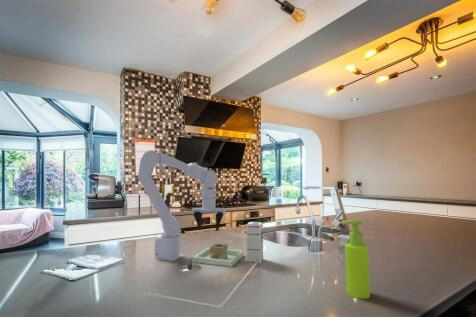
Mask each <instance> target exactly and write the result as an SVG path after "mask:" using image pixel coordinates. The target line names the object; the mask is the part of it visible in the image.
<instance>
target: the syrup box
mask: <svg viewBox="0 0 476 317" xmlns="http://www.w3.org/2000/svg"><path fill="white" fill-rule="evenodd" d="M245 227H246V228H245V229H246V231H245V232H246V261H247V262H252V263H253V262H254V264H262V263H263V261H264V240H263V238H264V236H263V233H264V232H263V222H261V221H250V222H249V221H248V223H246V226H245Z"/></svg>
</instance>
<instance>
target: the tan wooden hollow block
mask: <svg viewBox="0 0 476 317" xmlns="http://www.w3.org/2000/svg"><path fill="white" fill-rule="evenodd" d="M209 248H210V258H212V259H221V260H225V259H226V258H227V257H228V250H229V247H228V244H225V243H214V244H213V245H211V246H209Z"/></svg>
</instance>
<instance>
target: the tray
mask: <svg viewBox="0 0 476 317" xmlns="http://www.w3.org/2000/svg"><path fill="white" fill-rule="evenodd" d="M243 257H244V250H237V249H236V250H235V249H228V257H227V258H226V259H225V260H221V259H212V258H210V247H208V248H205V249H204V250H203V251H201V252H199V253H197V254H196V255H194V256H192V263H198V264H206V265H214V266H222V267H231V268H232V267H233V266H234V265H235V264H236V263H237V262H238V261H239V260H240V259H242V258H243Z"/></svg>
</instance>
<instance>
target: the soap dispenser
mask: <svg viewBox="0 0 476 317" xmlns="http://www.w3.org/2000/svg"><path fill="white" fill-rule="evenodd" d="M340 223H341V224H343V225H350V224H351V225H352V227H351V228H352V229H351V230H352V231H349V232H348V234H349V238H348V239H349V242H348V243H347V242H346V243H345V244H344V254H345V257H344V258H345V284H346V294H347V295H348V296H350V297H353V298H356V299H361V300H362V299H365V300H367V299H369V298H370V297H371V291H370V290H371V288H370V287H371V286H370V285H371V284H370V264H369V259H370V258H369V246H368V245H365V244H364V243H363V242H364V239H363V233H362V232H361V231H360V225H361V224H363V222H362V220H361V221H360V220H354V219H353V220H352V219H349V220H348V219H347V220H343V221H341V222H340Z"/></svg>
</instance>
